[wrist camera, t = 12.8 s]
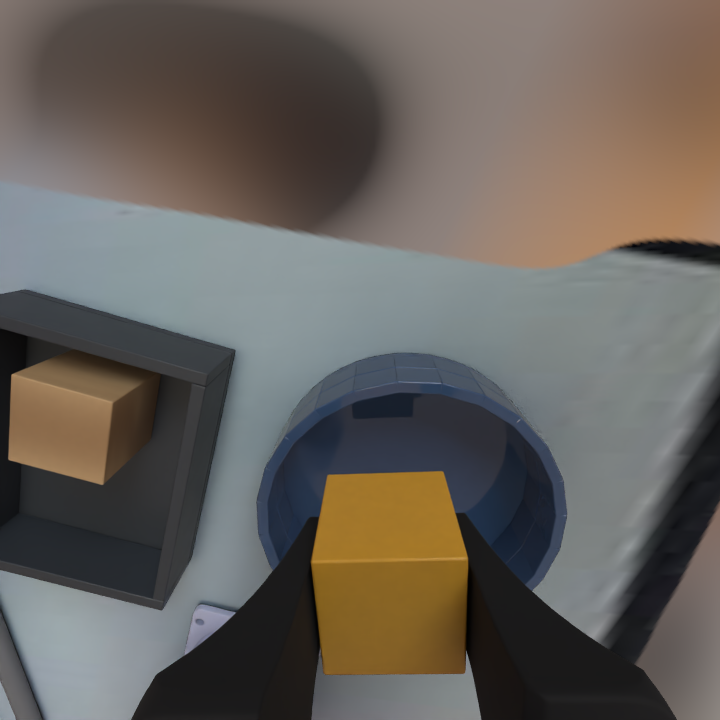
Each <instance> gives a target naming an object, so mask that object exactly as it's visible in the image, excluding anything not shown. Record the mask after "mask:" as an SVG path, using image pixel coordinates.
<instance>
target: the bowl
mask: <svg viewBox="0 0 720 720" xmlns="http://www.w3.org/2000/svg"><path fill="white" fill-rule="evenodd" d="M430 471H443V472H444V475H445V479H446V482H447V486H448V489H449V493H450V496H451V500H452V503H453V507H454V510H455V513H465V514H466V515H467V516H468V517H469V518H470V520H471V521H472V523H473V524H474V526H475V527H476V528H477V530H478V531H479V532H480V534H481V535H482V536H483V538H484V539H485V540H486V542H487V543H488V544H489V545H490V547H491V548H492V549H493V550H494V551H495V552H496V554H497V555H498V556H499V557H500V558H501V560H502V561H503V562H504V563H505V564H506V565H507V566H508V567H509V569H510V570H511V571H512V572H513V573H514V574H515V575H516V576H517V577H518V578H519V579H520V580H521V581H522V582H523V583H524V584H525V585H526V586H527V587H528V588H529V589H530V590H531V591H532V590H533V589H534V588H535V587H536V586H537V585H538V584H539V583H540V582H541V581H542V580H543V578H544V577H545V575H546V573H547V572H548V570H549V568H550V566H551V564H552V563H553V561H554V559H555V557H556V555H557V554H558V552H559V550H560V547H561V542H562V538H563V533H564V528H565V523H566V519H567V508H566V499H565V490H564V481H563V478H562V476H561V473H560V471H559V469H558V467H557V465H556V463H555V460H554V458H553V456H552V454H551V452H550V450H549V447H548V446H547V445H546V443H545V442H544V441H543V439H542V438H541V437H540V436H539V434H538V433H537V432H536V431H535V429H534V428H533V427H532V425H531V424H530V423H529V422H528V420H527V419H526V418H525V417H524V415H523V414H522V413H521V411H520V410H519V409H518V408H517V407H516V406H515V405H514V404H513V402H512V401H511V400H510V399H509V398H508V397H507V395H506V394H505V393H504V392H503V391H502V390H501V389H500V388H499V387H497V385H495V384H494V383H493V382H492V381H490V380H489V379H487V378H486V377H485V376H483V375H482V374H480V373H479V372H477V371H475V370H473V369H471V368H469V367H467V366H465V365H463V364H460V363H458V362H455V361H452V360H449V359H446V358H442V357H438V356H433V355H427V354H417V353H393V354H386V355H380V356H374V357H371V358H367V359H364V360H360V361H357V362H355V363H352V364H350V365H348V366H345V367H343V368H341V369H339V370H337V371H336V372H334V373H332V374H331V375H329V376H327V377H326V378H325V379H323V380H322V381H321V382H319V383H318V384H317V385H316V386H314V387H313V388H312V389H311V390H310V391H309V392H308V393H307V394H306V395H305V396H304V397H303V399H302V400H301V401H300V402H299V404H298V405H297V407H296V408H295V409H294V411H293V412H292V414H291V416H290V418H289V420H288V421H287V423H286V425H285V426H284V428H283V429H282V432H281V434H280V436H279V438H278V440H277V443H276V445H275V447H274V449H273V451H272V454H271V456H270V458H269V460H268V462H267V465H266V467H265V470H264V473H263V477H262V481H261V485H260V489H259V493H258V497H257V502H256V503H257V520H258V534H259V538H260V540H261V543H262V546H263V548H264V551H265V554H266V556H267V559H268V562H269V564H270V566H271V568H272V569H273V570H274V569H275V568H276V567H277V565H278V564H279V563H280V561H281V560H282V558H283V557H284V556H285V554H286V553H287V551H288V550H289V548H290V547H291V545H292V544H293V542H294V541H295V539H296V538H297V536H298V534H299V533H300V531H301V530H302V528H303V526H304V524H305V523H306V521H307V519H308V518H309V517H319V516H320V511H321V505H322V500H323V495H324V490H325V484H326V479H327V476H328V475H334V474H366V473H398V472H430Z"/></svg>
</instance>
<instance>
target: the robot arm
mask: <svg viewBox="0 0 720 720" xmlns="http://www.w3.org/2000/svg"><path fill="white" fill-rule="evenodd" d="M455 514H456V517H457V521H458V524H459V528H460V531H461V535H462V538H463V542H464V545H465V549H466V552H467V556H468V591H467V631H466V650H467V654H468V657H469V661H470V665H471V669H472V673H473V677H474V682H475V687H476V692H477V698H478V703H479V708H480V714H481V719H482V720H677V719H676V717H675V716H674V714H673V712H672V711H671V709H670V707H669V706H668V704H667V703H666V701H665V700H664V698H663V697H662V695H661V694H660V692H659V691H658V689H657V688H656V687H655V685H654V684H653V683H652V681H651V680H650V679H649V677H648V676H647V675H646V673H645V672H644V670H642V669H641V668H639V667H637V666H636V665H634V664H632V663H631V662H629V661H627V660H625V659H624V658H622V657H620V656H619V655H617V654H615V653H614V652H612V651H610V650H609V649H607V648H605V647H604V646H602V645H601V644H599V643H598V642H596V641H595V640H593V639H592V638H590V637H589V636H587V635H586V634H584V633H583V632H582V631H580V630H579V629H577V628H576V627H575V626H573V625H572V624H571V623H569V622H568V621H567V620H566V619H564V618H563V617H562V616H560V615H559V614H558V613H556V612H555V611H554V610H553V609H551V608H550V607H549V606H548V605H547V604H546V603H544V602H543V601H542V600H541V599H540V598H539V597H538V596H537V595H535V594H534V593H533V592H532V591H531V590H530V589H529V588H528V587H527V586H526V585H525V584H524V583H523V582H522V581H521V580H520V579H519V578H518V577H517V576H516V575H515V574H514V573H513V572H512V571H511V570H510V569H509V567H508V566H507V565H506V564H505V563H504V562H503V561H502V560H501V558H500V557H499V556H498V555H497V554H496V552H495V551H494V550H493V549H492V548H491V547H490V545H489V544H488V543H487V542H486V540H485V539H484V538H483V536H482V535H481V534H480V532H479V531H478V530H477V528H476V527H475V526H474V524H473V523H472V521H471V520H470V518H469V517H468V516H467V515H466V514H465V513H455ZM318 521H319V517H309V518H308V519H307V521H306V523H305V524H304V526H303V528H302V530H301V531H300V533H299V534H298V536H297V538H296V539H295V541H294V542H293V544H292V545H291V547H290V548H289V550H288V551H287V553H286V554H285V556H284V557H283V558H282V560H281V561H280V563H279V564H278V565H277V567H276V568H275V569H274V570H273V572H272V573H271V574H270V576H269V577H268V578H267V579H266V581H265V582H264V583H263V584H262V585H261V587H260V588H259V589H258V590H257V591H256V592H255V593H254V595H253V596H252V597H251V598H250V599H249V600H248V601H247V602H246V603H245V604H244V605H243V606H242V607H241V608H240V609H239V610H238V611H237V612H232V611H228V610H224V609H220V608H216V607H212V606H208V605H204V604H201V605H198V606H197V607H196V608H195V611H194V613H193V617H192V621H191V626H190V630H189V634H188V639H187V643H186V648H185V652H184V656H183V657H182V658H180V659H179V660H177V661H176V662H174V663H173V664H171V665H170V666H169V667H167V668H166V669H164V670H163V671H161V672H159V673H158V674H157V675H156V676H155V678H154V679H153V681H152V683H151V684H150V686H149V688H148V689H147V691H146V692H145V694H144V696H143V698H142V699H141V701H140V703H139V705H138V707H137V709H136V711H135V713H134V715H133V717H132V719H131V720H311V716H312V705H313V695H314V685H315V677H316V670H317V664H318V659H319V655H320V653H321V648H320V639H319V630H318V622H317V613H316V604H315V595H314V587H313V578H312V569H311V558H312V553H313V547H314V542H315V537H316V532H317V526H318Z"/></svg>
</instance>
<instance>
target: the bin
mask: <svg viewBox="0 0 720 720" xmlns="http://www.w3.org/2000/svg"><path fill="white" fill-rule="evenodd" d="M73 349H75V350H79V351H82V352H86V353H89V354H93V355H96V356H100V357H103V358H107V359H110V360H114V361H117V362H121V363H124V364H128V365H131V366H135V367H139V368H142V369H146V370H149V371H153V372H156V373H160V374H161V377H160V383H159V390H158V396H157V403H156V409H155V416H154V422H153V428H152V435H151V440H150V441H149V442H148V443H147V444H146V445H144V446H143V447H142V448H141V449H140V450H139V451H138V452H137V453H136V454H135V455H134V456H133V457H132V458H131V459H130V460H129V461H128V462H127V463H125V464H124V465H123V466H122V467H121V468H120V469H119V470H118V471H117V472H116V473H115V474H114V475H113V476H112V477H111V478H110V479H109V480H108V481H107V482H105V483H104V484H103V485H100V484H97V483H93V482H89V481H85V480H82V479H78V478H74V477H70V476H67V475H63V474H59V473H55V472H52V471H48V470H44V469H40V468H36V467H33V466H29V465H25V464H21V463H18V462H14V461H10V460H9V459H8V456H9V428H10V400H11V375H12V374H14V373H16V372H19V371H21V370H23V369H26V368H28V367H31V366H33V365H36V364H38V363H41V362H43V361H46V360H48V359H51V358H53V357H55V356H58V355H60V354H63V353H65V352H68V351H70V350H73ZM234 354H235V350H233V349H229V348H226V347H222V346H219V345H215V344H212V343H208V342H205V341H202V340H198V339H195V338H191V337H188V336H184V335H181V334H177V333H174V332H170V331H167V330H164V329H160V328H157V327H153V326H150V325H146V324H143V323H139V322H136V321H132V320H129V319H126V318H122V317H119V316H115V315H112V314H108V313H105V312H101V311H98V310H94V309H91V308H88V307H84V306H81V305H77V304H74V303H70V302H67V301H63V300H60V299H56V298H53V297H50V296H46V295H43V294H39V293H36V292H32V291H29V290H20V291H15V292H9V293H4V294H0V570H3V571H7V572H11V573H15V574H19V575H23V576H27V577H31V578H35V579H39V580H43V581H47V582H51V583H55V584H58V585H62V586H66V587H70V588H74V589H78V590H82V591H86V592H90V593H94V594H98V595H102V596H106V597H110V598H114V599H118V600H122V601H126V602H130V603H134V604H138V605H142V606H146V607H150V608H154V609H158V610H163V609H164V607H165V605H166V603H167V601H168V600H169V598H170V596H171V594H172V592H173V591H174V589H175V587H176V585H177V583H178V582H179V580H180V578H181V576H182V574H183V573H184V571H185V569H186V567H187V565H188V563H189V562H190V560H191V558H192V553H193V548H194V543H195V539H196V534H197V529H198V524H199V520H200V515H201V510H202V506H203V501H204V496H205V491H206V487H207V482H208V477H209V473H210V468H211V463H212V458H213V454H214V449H215V444H216V439H217V435H218V430H219V425H220V421H221V416H222V411H223V406H224V402H225V397H226V392H227V387H228V383H229V378H230V373H231V369H232V364H233V359H234Z"/></svg>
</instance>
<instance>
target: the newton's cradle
mask: <svg viewBox="0 0 720 720" xmlns="http://www.w3.org/2000/svg"><path fill="white" fill-rule="evenodd" d="M0 681H1V683H2V686H3V688H4V691H5V693H6V696H7V698H8V700H9V703H10V705H11V708H12V710H13V712H14V715H15V717H16V720H42V717H41V715H40V712H39V710H38V707H37V704H36V702H35V699H34V697H33V694H32V691H31V689H30V686H29V684H28V681H27V678H26V676H25V673H24V671H23V668H22V666H21V663H20V660H19V658H18V655H17V653H16V650H15V647H14V645H13V642H12V640H11V637H10V634H9V632H8V629H7V627H6V624H5V622H4V619H3V616H2V614H1V611H0Z"/></svg>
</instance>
